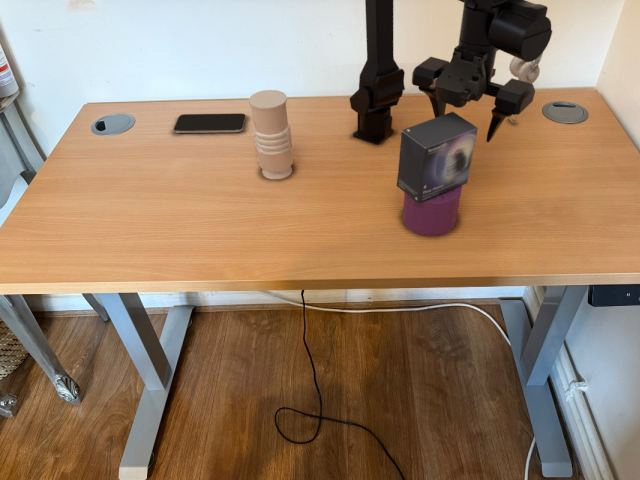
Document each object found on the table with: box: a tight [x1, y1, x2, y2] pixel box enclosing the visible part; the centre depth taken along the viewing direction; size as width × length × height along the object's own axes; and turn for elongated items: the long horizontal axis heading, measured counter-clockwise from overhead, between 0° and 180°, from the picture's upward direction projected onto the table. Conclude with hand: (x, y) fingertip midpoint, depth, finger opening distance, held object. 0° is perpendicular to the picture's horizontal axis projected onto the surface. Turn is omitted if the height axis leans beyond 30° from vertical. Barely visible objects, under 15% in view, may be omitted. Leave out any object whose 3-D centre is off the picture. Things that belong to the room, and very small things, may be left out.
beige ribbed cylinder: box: [248, 89, 294, 180], centre depth 100 cm, size 7×7×15 cm
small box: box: [396, 111, 479, 204], centre depth 85 cm, size 11×6×10 cm, turn 122°
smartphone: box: [173, 112, 247, 134], centre depth 118 cm, size 7×1×15 cm
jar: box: [402, 185, 463, 237], centre depth 91 cm, size 9×9×7 cm
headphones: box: [508, 52, 544, 124], centre depth 108 cm, size 8×4×20 cm, turn 13°
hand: (463, 132), depth 90 cm, fingers open, 9 cm apart
